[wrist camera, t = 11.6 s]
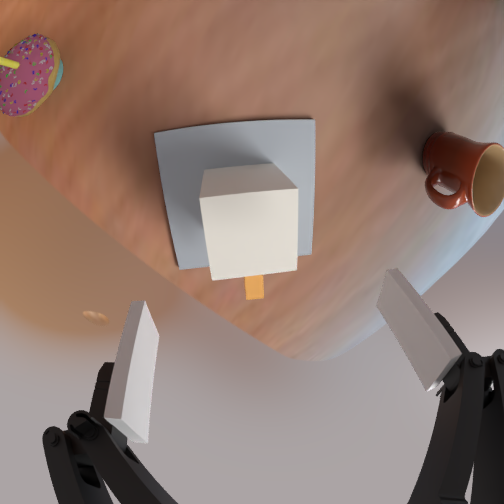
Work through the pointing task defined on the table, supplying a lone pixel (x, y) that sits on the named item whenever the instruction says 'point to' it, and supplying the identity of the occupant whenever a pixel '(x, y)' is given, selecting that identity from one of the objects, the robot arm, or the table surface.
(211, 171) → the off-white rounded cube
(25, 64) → the cupcake
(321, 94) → the table surface
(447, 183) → the mug
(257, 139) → the post base
